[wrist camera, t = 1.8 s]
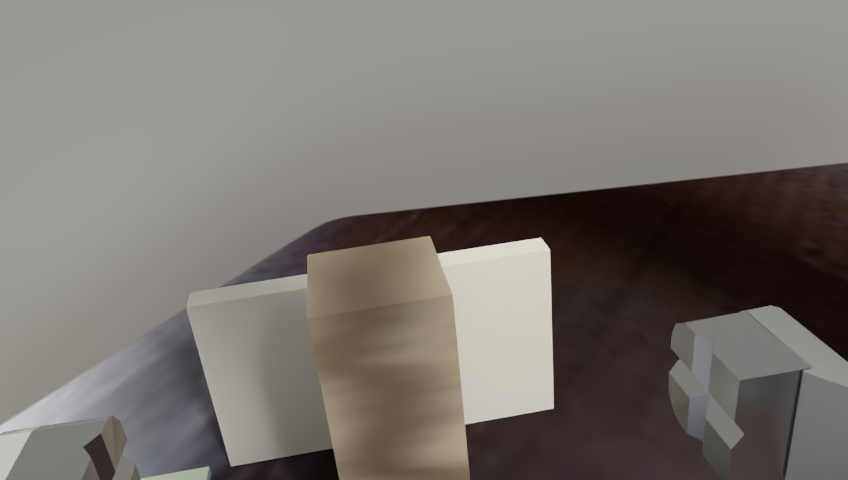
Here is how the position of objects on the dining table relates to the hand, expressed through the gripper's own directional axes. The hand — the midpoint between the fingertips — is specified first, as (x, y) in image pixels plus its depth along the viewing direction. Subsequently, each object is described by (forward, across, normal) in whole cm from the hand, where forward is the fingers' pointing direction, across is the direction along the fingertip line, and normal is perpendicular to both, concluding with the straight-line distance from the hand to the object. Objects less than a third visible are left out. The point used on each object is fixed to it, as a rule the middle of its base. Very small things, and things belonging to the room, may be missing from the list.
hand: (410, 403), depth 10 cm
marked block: (+15, 0, +20) cm, 25 cm away
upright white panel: (+23, 0, +19) cm, 30 cm away
